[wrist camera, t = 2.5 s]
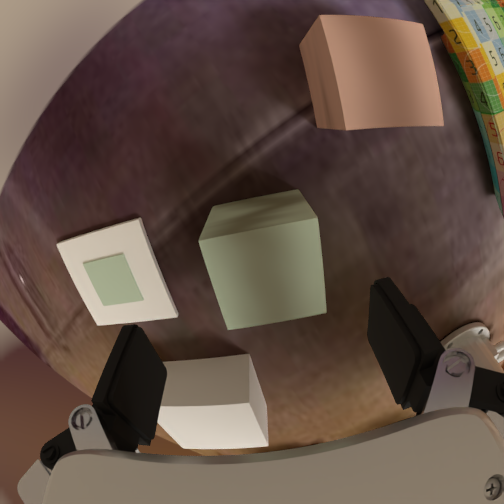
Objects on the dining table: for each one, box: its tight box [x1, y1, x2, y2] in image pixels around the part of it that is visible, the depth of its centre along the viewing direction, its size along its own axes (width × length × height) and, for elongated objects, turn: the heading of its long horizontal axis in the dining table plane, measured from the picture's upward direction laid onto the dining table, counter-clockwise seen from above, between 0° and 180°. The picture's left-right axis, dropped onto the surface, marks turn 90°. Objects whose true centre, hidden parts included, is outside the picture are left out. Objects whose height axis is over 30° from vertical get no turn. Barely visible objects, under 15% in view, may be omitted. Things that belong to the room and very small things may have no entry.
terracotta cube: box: [299, 15, 444, 130], centre depth 12 cm, size 6×6×6 cm
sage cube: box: [198, 189, 327, 330], centre depth 17 cm, size 6×6×6 cm
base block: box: [157, 354, 268, 449], centre depth 25 cm, size 10×10×6 cm
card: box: [56, 217, 179, 326], centre depth 21 cm, size 9×9×1 cm
